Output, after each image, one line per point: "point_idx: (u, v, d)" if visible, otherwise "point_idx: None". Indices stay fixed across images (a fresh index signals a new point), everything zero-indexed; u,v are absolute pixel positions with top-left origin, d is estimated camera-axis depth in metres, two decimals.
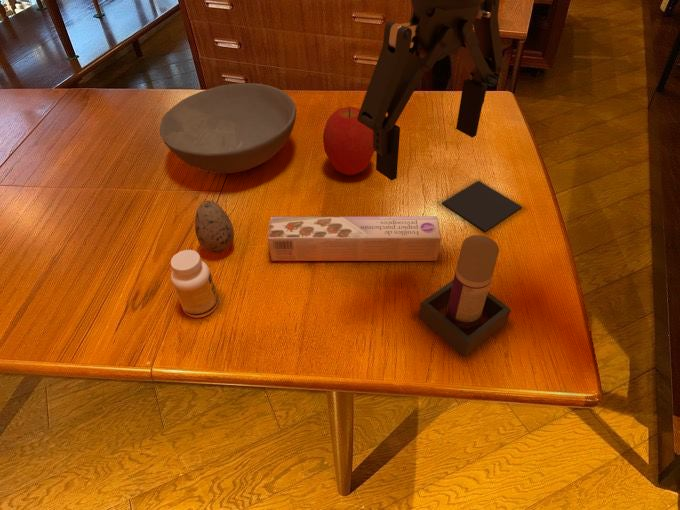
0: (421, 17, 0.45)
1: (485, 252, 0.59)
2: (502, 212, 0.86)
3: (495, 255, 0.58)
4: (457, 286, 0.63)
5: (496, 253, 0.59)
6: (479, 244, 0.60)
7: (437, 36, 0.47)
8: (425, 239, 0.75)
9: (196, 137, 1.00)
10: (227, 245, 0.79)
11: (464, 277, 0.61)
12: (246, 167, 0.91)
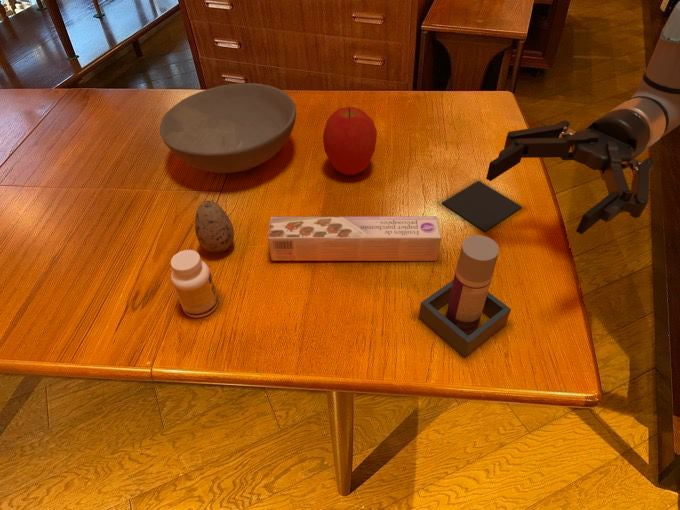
0: None
1: (485, 252, 0.59)
2: (502, 212, 0.86)
3: (495, 255, 0.58)
4: (457, 286, 0.63)
5: (496, 253, 0.59)
6: (479, 244, 0.60)
7: None
8: (425, 239, 0.75)
9: (196, 137, 1.00)
10: (227, 245, 0.79)
11: (464, 277, 0.61)
12: (246, 167, 0.91)
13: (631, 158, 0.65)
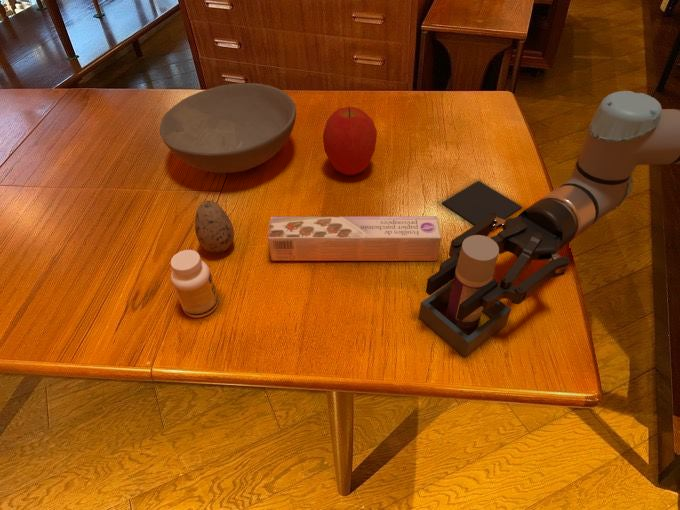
0: None
1: (485, 252, 0.59)
2: (502, 212, 0.86)
3: (495, 255, 0.58)
4: (457, 286, 0.63)
5: (496, 253, 0.59)
6: (479, 244, 0.60)
7: None
8: (425, 239, 0.75)
9: (196, 137, 1.00)
10: (227, 245, 0.79)
11: (464, 277, 0.61)
12: (246, 167, 0.91)
13: (556, 250, 0.66)
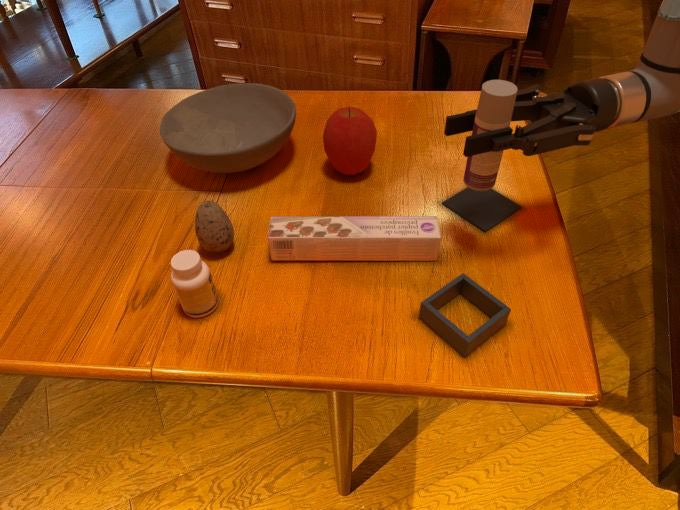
0: None
1: (502, 91, 0.61)
2: (502, 212, 0.86)
3: (510, 94, 0.61)
4: (474, 131, 0.66)
5: (512, 93, 0.61)
6: (500, 85, 0.63)
7: None
8: (425, 239, 0.75)
9: (196, 137, 1.00)
10: (227, 245, 0.79)
11: (479, 117, 0.64)
12: (246, 167, 0.91)
13: (587, 121, 0.66)
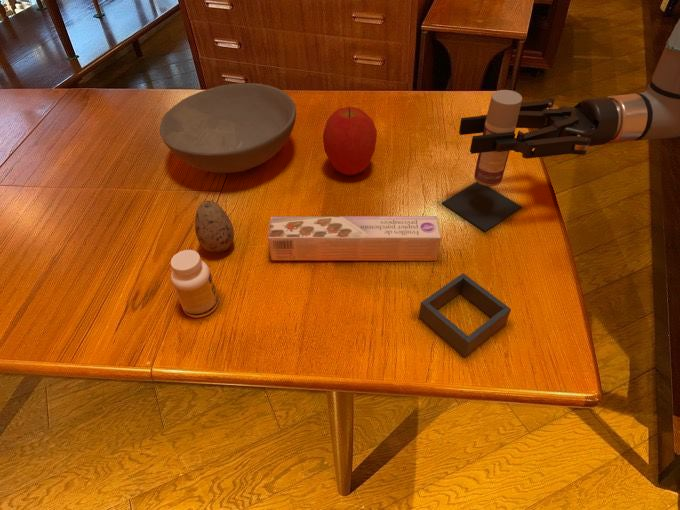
0: None
1: (508, 100, 0.72)
2: (502, 212, 0.86)
3: (514, 103, 0.71)
4: (483, 132, 0.77)
5: (516, 102, 0.71)
6: (508, 95, 0.73)
7: None
8: (425, 239, 0.75)
9: (196, 137, 1.00)
10: (227, 245, 0.79)
11: (487, 121, 0.75)
12: (246, 167, 0.91)
13: (586, 134, 0.74)
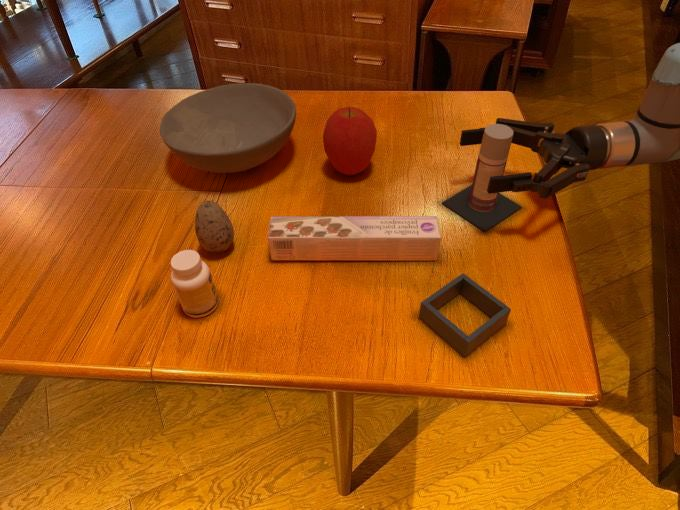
0: None
1: (500, 134, 0.76)
2: (502, 212, 0.86)
3: (505, 138, 0.75)
4: (477, 163, 0.81)
5: (507, 137, 0.75)
6: (500, 129, 0.77)
7: None
8: (425, 239, 0.75)
9: (196, 137, 1.00)
10: (227, 245, 0.79)
11: (481, 153, 0.79)
12: (246, 167, 0.91)
13: (576, 161, 0.78)
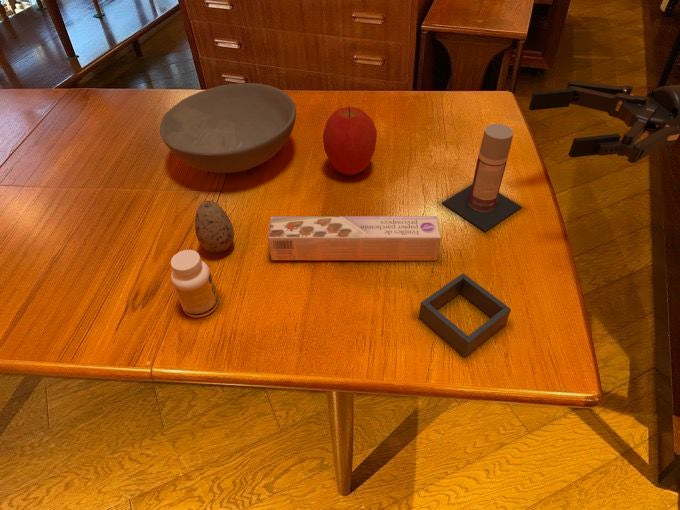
0: None
1: (500, 134, 0.76)
2: (502, 212, 0.86)
3: (505, 138, 0.75)
4: (477, 163, 0.81)
5: (507, 137, 0.75)
6: (500, 129, 0.77)
7: None
8: (425, 239, 0.75)
9: (196, 137, 1.00)
10: (227, 245, 0.79)
11: (481, 153, 0.79)
12: (246, 167, 0.91)
13: (665, 123, 0.71)
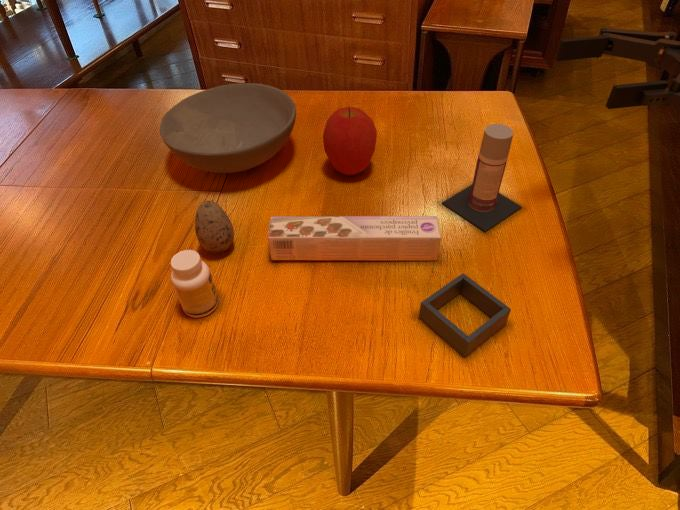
0: None
1: (500, 134, 0.76)
2: (502, 212, 0.86)
3: (506, 138, 0.75)
4: (477, 163, 0.81)
5: (507, 137, 0.75)
6: (500, 129, 0.77)
7: None
8: (425, 239, 0.75)
9: (196, 137, 1.00)
10: (227, 245, 0.79)
11: (481, 153, 0.79)
12: (246, 167, 0.91)
13: None
